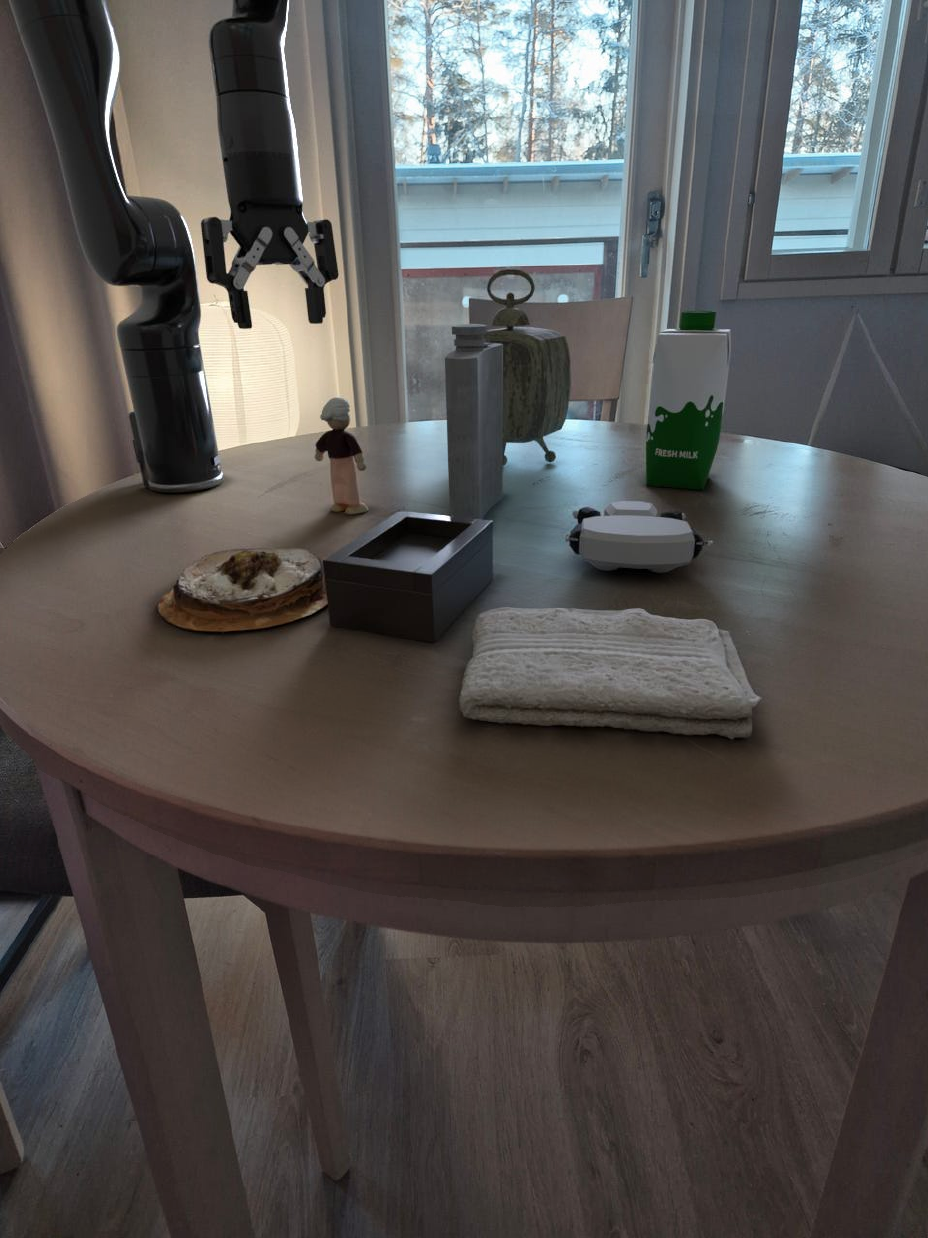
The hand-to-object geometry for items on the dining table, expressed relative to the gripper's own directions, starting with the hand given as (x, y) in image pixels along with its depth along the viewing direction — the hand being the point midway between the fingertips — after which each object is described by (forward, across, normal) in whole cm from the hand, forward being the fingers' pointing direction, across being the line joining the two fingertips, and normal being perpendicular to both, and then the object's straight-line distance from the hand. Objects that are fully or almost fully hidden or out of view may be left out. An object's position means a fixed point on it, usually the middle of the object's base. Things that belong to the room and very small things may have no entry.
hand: (281, 325), depth 79 cm
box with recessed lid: (+20, +7, +34) cm, 40 cm away
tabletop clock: (+20, -31, +4) cm, 37 cm away
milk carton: (+20, -40, +26) cm, 52 cm away
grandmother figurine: (+20, -2, +7) cm, 21 cm away
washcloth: (+20, +6, +53) cm, 57 cm away
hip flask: (+20, -12, +19) cm, 30 cm away
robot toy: (+20, -14, +39) cm, 46 cm away
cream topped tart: (+20, +17, +24) cm, 35 cm away
